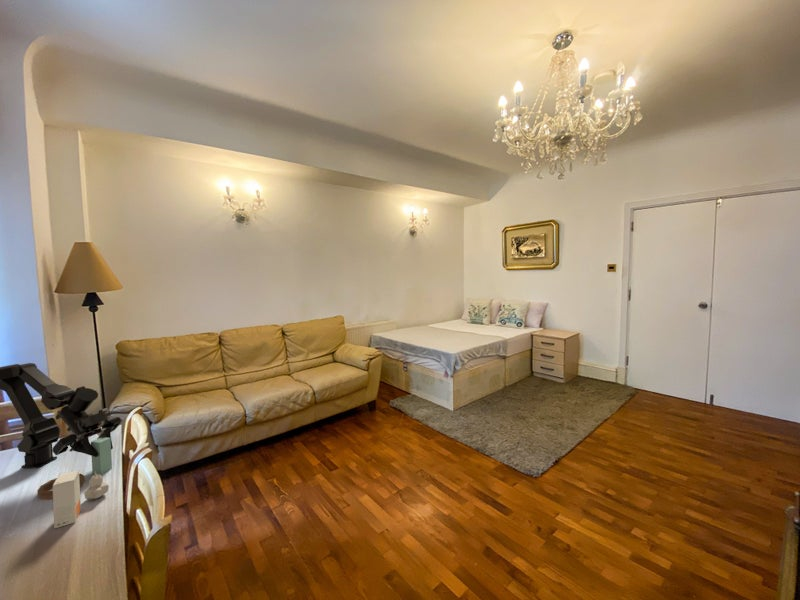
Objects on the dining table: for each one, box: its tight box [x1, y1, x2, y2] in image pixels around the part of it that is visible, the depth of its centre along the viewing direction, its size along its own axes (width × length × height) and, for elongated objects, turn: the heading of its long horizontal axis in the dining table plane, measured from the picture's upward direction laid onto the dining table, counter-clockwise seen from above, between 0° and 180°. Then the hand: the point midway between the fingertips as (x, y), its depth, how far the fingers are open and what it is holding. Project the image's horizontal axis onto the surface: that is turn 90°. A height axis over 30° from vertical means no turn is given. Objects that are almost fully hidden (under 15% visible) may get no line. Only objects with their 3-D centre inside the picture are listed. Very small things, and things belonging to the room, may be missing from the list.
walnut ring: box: [36, 473, 85, 500], centre depth 104 cm, size 10×10×2 cm
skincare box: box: [52, 470, 82, 529], centre depth 90 cm, size 6×4×12 cm
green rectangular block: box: [90, 437, 113, 475], centre depth 114 cm, size 4×4×11 cm
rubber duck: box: [83, 472, 109, 500], centre depth 99 cm, size 5×7×8 cm
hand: (104, 452), depth 113 cm, fingers open, 4 cm apart
